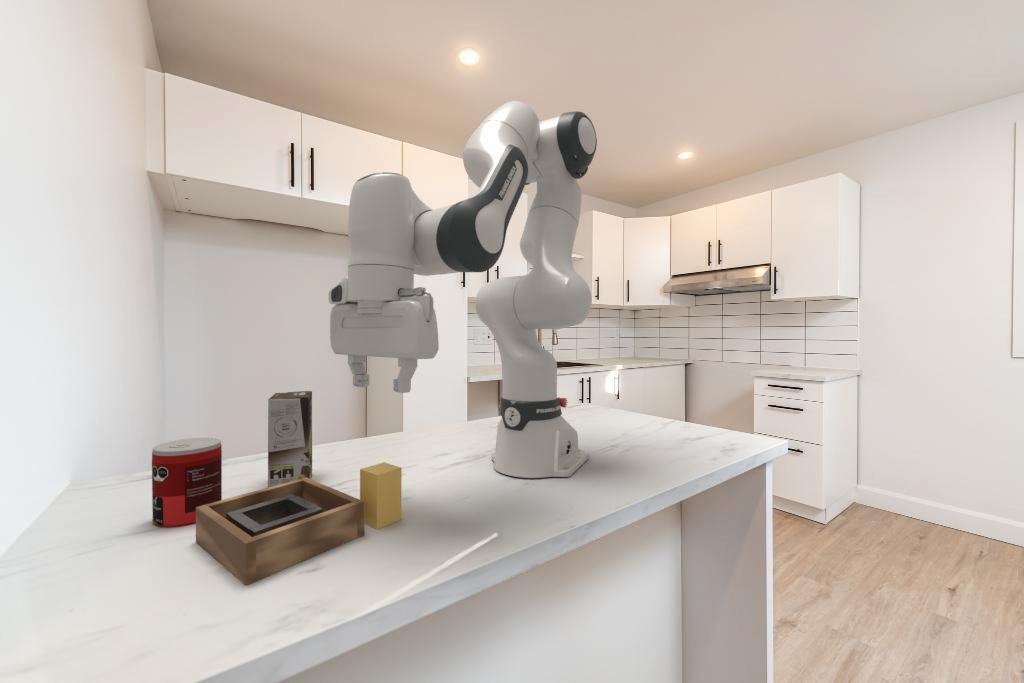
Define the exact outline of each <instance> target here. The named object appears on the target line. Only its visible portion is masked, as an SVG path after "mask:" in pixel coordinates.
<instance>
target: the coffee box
mask: <svg viewBox="0 0 1024 683" xmlns="http://www.w3.org/2000/svg"><path fill="white" fill-rule="evenodd" d="M267 402H268V405H267V408H268V409H267V413H268V414H267V425H268V427H267V431H268V432H267V488H269V487H272V486H276V485H280V484H284V483H287V482H291V481H295V480H298V479H302V478H306V477H307V478H309V479H311V480H312V476H313V391H312V390H305V391H303V390H301V391H288V392H275V393H274V394H273V395H272V396H270V397H269V398H268V399H267Z"/></svg>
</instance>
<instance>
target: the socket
mask: <svg viewBox="0 0 1024 683" xmlns="http://www.w3.org/2000/svg"><path fill="white" fill-rule="evenodd" d="M320 513H323V509H322V508H320V507H318V506H317V505H315V504H313V503H311V502H309V501H306V500H304V499H302V498H300V497H298V496H295V495H293V494H290V495H287V496H283V497H280V498H276V499H273V500H270V501H266V502H263V503H259V504H256V505H253V506H249V507H246V508H242V509H239V510H235V511H232V512H229V513H226V519H227V520H228V521H229V522H231V523H232V524H234V525H235V526H237V527H238V528H240V529H241V530H242V531H244V532H245V533H247V534H248V535H250V536H251V537H254V536H257V535H260V534H263V533H265V532H268V531H271V530H274V529H277V528H280V527H283V526H286V525H288V524H291V523H294V522H297V521H300V520H303V519H306V518H309V517H311V516H314V515H317V514H320Z"/></svg>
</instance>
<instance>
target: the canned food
mask: <svg viewBox="0 0 1024 683" xmlns="http://www.w3.org/2000/svg"><path fill="white" fill-rule="evenodd" d="M222 452H223V450H222V440H221V439H219V438H217V437H215V438H214V437H192V438H183V439H175V440H171V441H166V442H163V443H160V444H157V445H155V446H153V447H152V452H151V485H152V486H151V490H152V492H151V493H152V494H151V495H152V497H151V498H152V499H151V500H152V503H151V504H152V522H153V525H154V526H155V527H158V528H168V529H169V528H180V527H187V526H191V525H196V507H198V506H202V505H206V504H209V503H213V502H217V501H221V500H223V499H222V498H223V497H222V494H223V493H222V486H223V484H222V483H223V482H222V480H223V479H222V475H223V473H222V472H223V471H222V470H223V469H222V468H223V467H222V466H223V464H222V463H223V462H222V461H223V460H222V459H223V457H222V456H223V455H222V454H223V453H222Z"/></svg>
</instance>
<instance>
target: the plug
mask: <svg viewBox="0 0 1024 683" xmlns="http://www.w3.org/2000/svg"><path fill="white" fill-rule="evenodd" d="M359 469H360V470H359V500H362V501H364V525H367V527H368V526H369V527H370V528H373V529H374V530H375V529H376V530H380V529H381V528H384V527H387V526H389V525H392V524H394V523H396V522H398V521H400V520H402V467H401V466H397V465H394V464H391V463H387V462H381V463H376V464H373V465H370V466H367V467H362V468H359Z"/></svg>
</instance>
